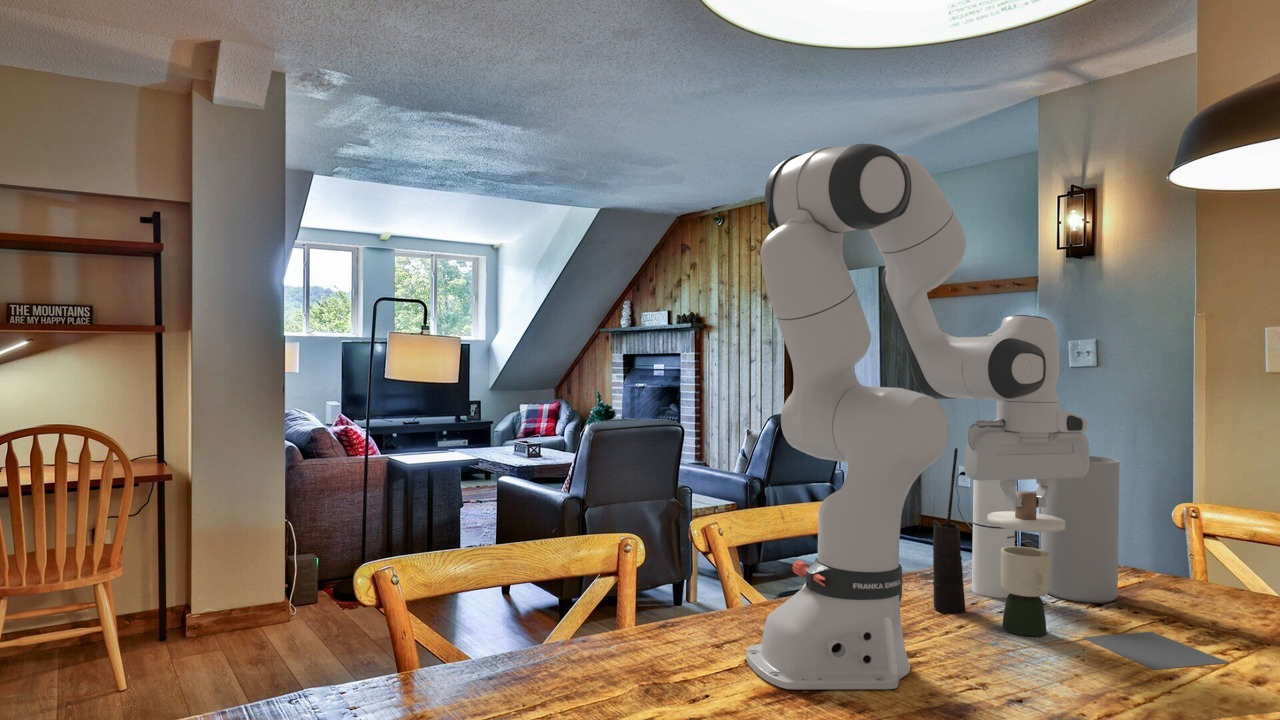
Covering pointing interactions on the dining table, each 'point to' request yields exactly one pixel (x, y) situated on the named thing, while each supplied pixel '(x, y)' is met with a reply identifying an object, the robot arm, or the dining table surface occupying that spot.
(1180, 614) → the dining table surface
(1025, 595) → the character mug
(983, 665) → the dining table surface
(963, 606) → the butter churn
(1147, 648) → the mat
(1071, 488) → the cylinder vase
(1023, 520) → the lid
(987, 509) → the cylindrical container
